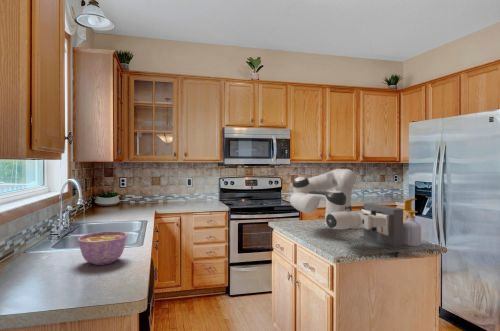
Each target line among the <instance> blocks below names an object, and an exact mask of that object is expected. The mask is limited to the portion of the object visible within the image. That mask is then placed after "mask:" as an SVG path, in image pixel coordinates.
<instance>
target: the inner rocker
mask: <svg viewBox="0 0 500 331" xmlns="http://www.w3.org/2000/svg"><path fill="white" fill-rule="evenodd" d="M361 211H363V212H364V213H368V214H371V211H368V210H364V209H362V210H361ZM365 229H366V228H365ZM368 230H370V229H368Z"/></svg>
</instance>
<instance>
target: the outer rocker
mask: <svg viewBox="0 0 500 331" xmlns="http://www.w3.org/2000/svg"><path fill="white" fill-rule="evenodd" d="M376 216H382V217H383V218H386V225H385V226H381V227H377V232H378V233H382V234H385V235H389V215H384V214H380V213H376Z"/></svg>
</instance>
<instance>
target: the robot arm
mask: <svg viewBox="0 0 500 331" xmlns="http://www.w3.org/2000/svg"><path fill="white" fill-rule="evenodd" d="M356 182H357V174H356V172H355V171H353V170H351V169H350V168H335V169H332V170H329V171H328V172H324V173H322V174H319V175H315V176H312V177H308V178H307V177H306V176H299V177H295V178H294V179H293V180H292V189H293V194H291V196H290V198H289V203H290V205H291V207H293V208H294V209H295V210H297V211H298V212H301V213H303V214H307V215H308V214H312V213H314V212H315V211H316V210H317V209H318V208H319V204H320V203H321V202H320V201H321V199H325V213H324V214H325V215H324V221H323V224H324V225H325V226H327V227H328V228H330V229H333V230H348V229H353V230H354V229H363V228H366V229H371V227H381V226H385V225H386V218H383V217H382V216H375V215H372V214H368V213H364V212H363V211H361V210H360V209H358V210H353V207H352V192H353V188H354V185H355V184H356ZM335 187H336V189H334V190H331V189H332V188H335Z"/></svg>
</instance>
